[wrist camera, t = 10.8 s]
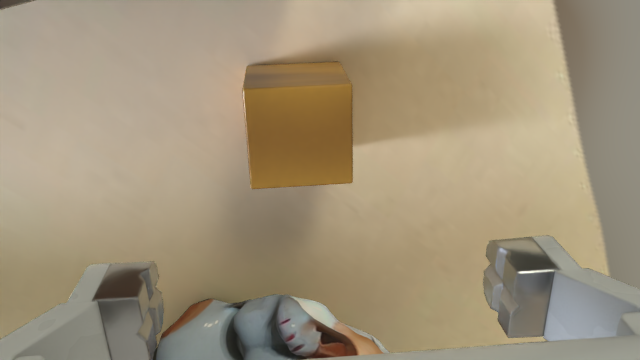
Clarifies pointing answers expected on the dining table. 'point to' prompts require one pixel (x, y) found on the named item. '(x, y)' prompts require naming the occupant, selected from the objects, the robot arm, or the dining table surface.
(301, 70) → the block
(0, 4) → the cabinet
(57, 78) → the dining table surface
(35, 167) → the dining table surface
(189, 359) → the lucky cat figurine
